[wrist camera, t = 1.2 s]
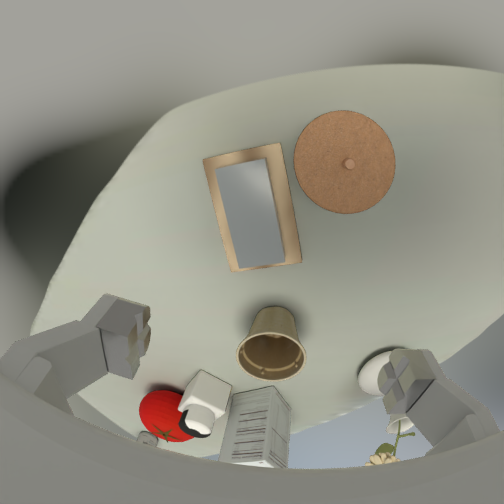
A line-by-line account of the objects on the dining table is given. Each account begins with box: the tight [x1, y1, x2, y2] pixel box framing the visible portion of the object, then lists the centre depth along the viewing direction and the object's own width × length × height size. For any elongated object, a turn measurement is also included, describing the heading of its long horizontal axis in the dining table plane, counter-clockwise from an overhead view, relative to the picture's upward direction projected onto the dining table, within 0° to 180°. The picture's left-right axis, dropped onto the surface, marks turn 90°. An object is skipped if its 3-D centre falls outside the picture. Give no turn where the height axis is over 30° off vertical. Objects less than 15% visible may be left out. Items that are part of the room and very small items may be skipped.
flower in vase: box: [358, 351, 415, 466], centre depth 34 cm, size 13×11×25 cm
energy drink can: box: [137, 431, 158, 447], centre depth 60 cm, size 6×6×15 cm
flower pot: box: [236, 306, 306, 381], centre depth 39 cm, size 9×9×9 cm
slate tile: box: [215, 158, 286, 269], centre depth 35 cm, size 6×13×2 cm, turn 12°
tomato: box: [139, 390, 194, 442], centre depth 51 cm, size 14×13×10 cm
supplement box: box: [218, 386, 291, 468], centre depth 44 cm, size 10×9×17 cm
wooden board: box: [203, 143, 302, 272], centre depth 36 cm, size 10×16×1 cm, turn 12°
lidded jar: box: [294, 111, 395, 214], centre depth 29 cm, size 11×11×9 cm
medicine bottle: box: [178, 370, 232, 438], centre depth 46 cm, size 7×7×12 cm
